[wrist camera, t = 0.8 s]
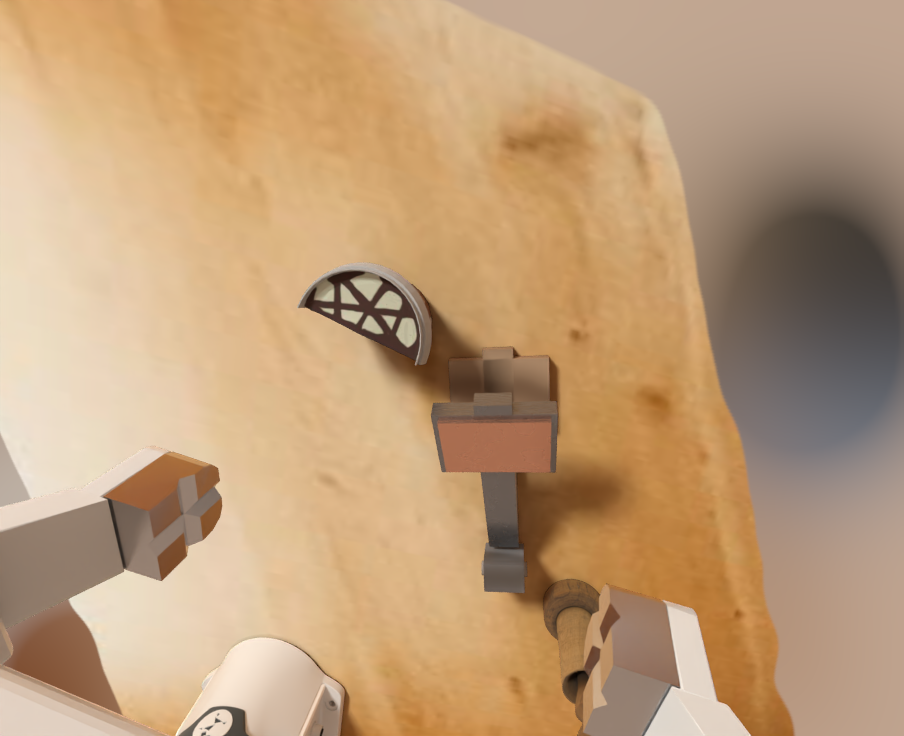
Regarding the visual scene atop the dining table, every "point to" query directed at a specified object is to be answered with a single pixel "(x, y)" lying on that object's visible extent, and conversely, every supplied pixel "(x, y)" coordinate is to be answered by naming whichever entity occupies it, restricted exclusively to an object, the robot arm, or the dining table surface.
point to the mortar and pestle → (571, 634)
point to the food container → (375, 307)
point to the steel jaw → (497, 450)
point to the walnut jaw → (525, 384)
